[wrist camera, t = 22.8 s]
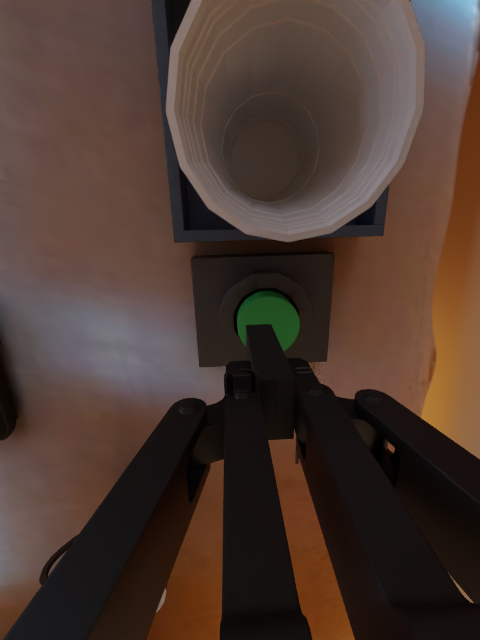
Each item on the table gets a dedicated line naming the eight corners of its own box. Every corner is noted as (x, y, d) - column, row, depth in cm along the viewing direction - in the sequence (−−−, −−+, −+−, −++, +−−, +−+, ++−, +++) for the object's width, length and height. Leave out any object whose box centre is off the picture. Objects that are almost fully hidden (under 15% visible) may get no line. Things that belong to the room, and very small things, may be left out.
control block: (193, 255, 26) (187, 261, 22) (326, 251, 26) (343, 255, 23) (201, 358, 29) (197, 378, 25) (320, 352, 29) (334, 371, 26)
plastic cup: (176, 204, 24) (129, 185, 13) (223, 54, 21) (218, -149, 10) (295, 254, 26) (350, 277, 14) (355, 121, 23) (484, 15, 11)
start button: (235, 291, 24) (236, 297, 22) (295, 289, 24) (301, 295, 22) (237, 346, 25) (238, 357, 23) (293, 344, 25) (299, 354, 23)
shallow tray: (159, -25, 20) (142, -89, 16) (383, -27, 21) (421, -89, 17) (182, 239, 26) (174, 242, 22) (359, 234, 26) (383, 235, 22)
